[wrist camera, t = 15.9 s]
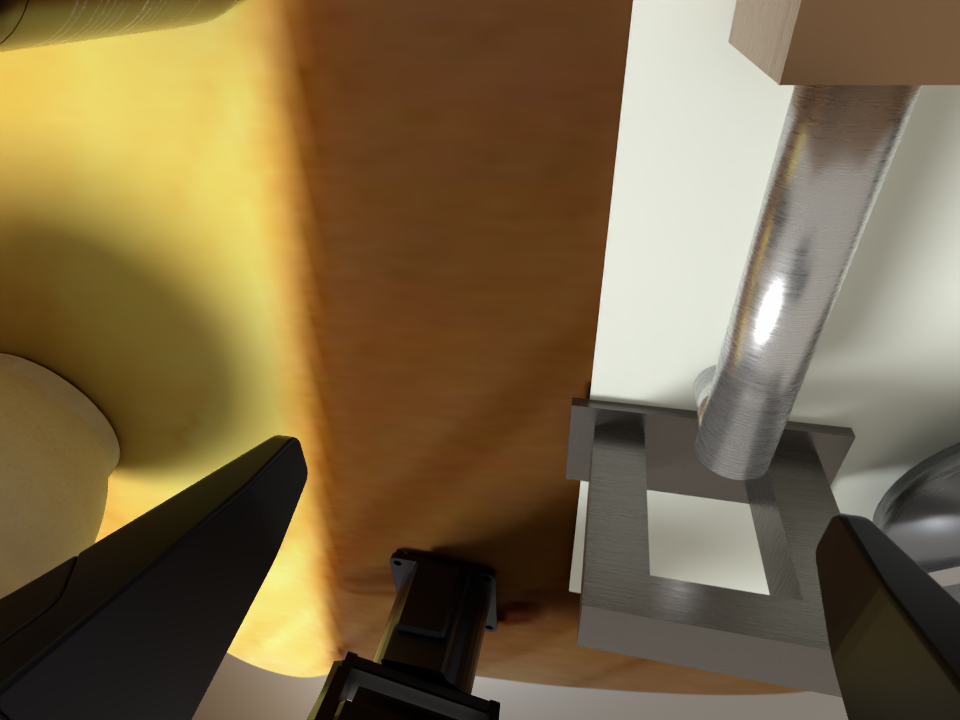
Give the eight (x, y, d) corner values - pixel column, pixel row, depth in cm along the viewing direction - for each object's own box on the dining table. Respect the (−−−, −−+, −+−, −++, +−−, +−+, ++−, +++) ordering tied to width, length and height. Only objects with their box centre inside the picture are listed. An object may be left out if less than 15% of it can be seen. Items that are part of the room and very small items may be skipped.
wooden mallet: (771, 396, 20) (815, 531, 15) (658, 385, 21) (668, 510, 16) (986, -190, 11) (1257, -300, 6) (771, -172, 12) (868, -258, 7)
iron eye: (813, 503, 23) (888, 723, 16) (566, 470, 25) (545, 653, 18) (851, 427, 20) (958, 651, 14) (572, 397, 22) (550, 580, 16)
